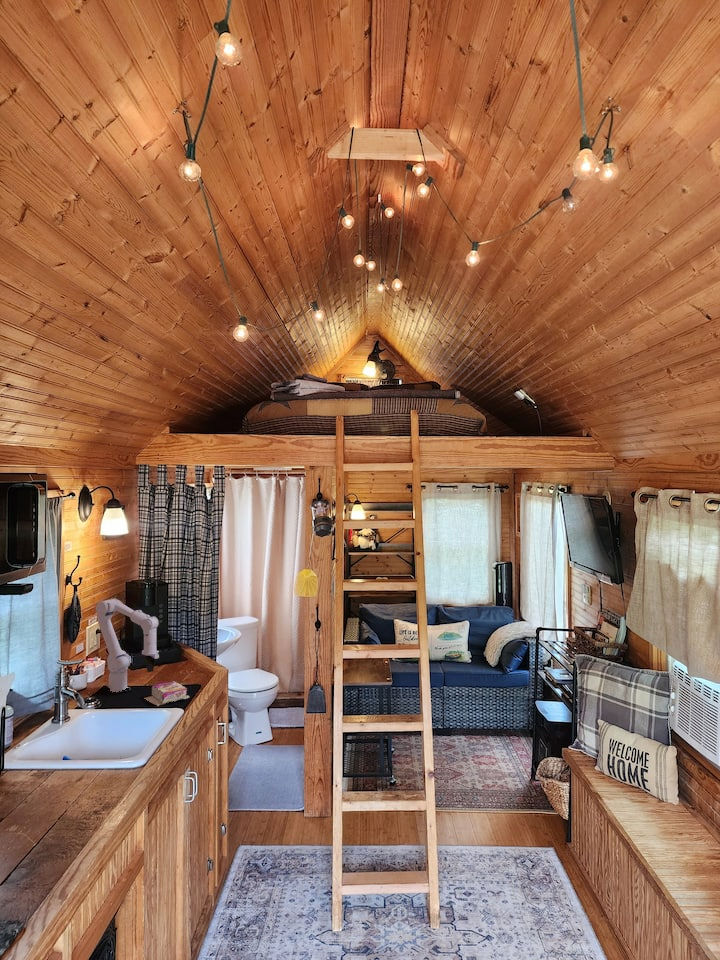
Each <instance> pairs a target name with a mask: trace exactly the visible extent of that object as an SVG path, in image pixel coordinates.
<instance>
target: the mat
mask: <svg viewBox="0 0 720 960" xmlns="http://www.w3.org/2000/svg"><path fill="white" fill-rule="evenodd" d="M189 698H190V695H187V699H189ZM144 699H146V700H147V702H148V701H149V703H151V704H153V705H155V706H156V707H159V706H162V705H167V704H170V703H169V702H168V703H167V704H166V703H161V702H160V701H159V700H157V699H156V698H155V697H154V696H152V695H151V696H147V697H144V698H143V700H144ZM146 700H145V701H146Z"/></svg>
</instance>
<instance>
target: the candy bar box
mask: <svg viewBox="0 0 720 960" xmlns="http://www.w3.org/2000/svg"><path fill="white" fill-rule="evenodd" d="M187 692H188V688H187V687H185V686H184V685H182V684H181V683H180V682H177V681H176V680H173V681H169V682H163V683H162V682H161V683H158V684H152V685H151V696H154V697H155V698H156V699H157V700H159V701H160V702H161V703H167V704H169V703H168V702H171V703H174V702H178V701H183V700H186V699H187V700H188V698H187V696H188V695H187V694H188V693H187ZM173 701H174V702H173Z"/></svg>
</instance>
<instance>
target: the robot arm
mask: <svg viewBox="0 0 720 960" xmlns="http://www.w3.org/2000/svg"><path fill="white" fill-rule="evenodd" d="M95 612H96V615H97V616H96V618H97V624H98V626H99V628H100V632H101V634H102V638H103V640H104V643H105V645H106V649H107V651H108V656H107V659H106V662H107V669H108V671H109V675H108V688H110V691H109V692H111V691H112V692H111V693H113V692H116V693H120V692H123V691H122V690H125V689H126V688H130V687H128V667H130V665H131V659H130V657H129V655H127V652H126V651H125V650H122V648H121V646H120V642H119V640H118V637H117V635H116V632H115V630H114V626H113V624H112V623H113V622H112V621H111V619H112V618H113V616H114V614H116V612H117V613H120V614H122V615H125V616H127V617H129V618H130V620H131V622H133V623H134V624H136V625H138V626H140V628H141V629H142V632H143V650H141V655H142V656H143V655H144V656H143V657H142V659H143V661H144V663H145V666H146V670H147V673H151V672H152V673H153V672H154V668H155V664H156V662H157V660H158V659H160V655H159V652H160V651H159V650H157V645H158V644H157V628H158V627H159V625H160V622H159V619H158V617H156V615H155V616H150V615H149V614H146V613H145V612H143V611H142V610H141V609H137V610H134V609H133V608H130V607H128V606H127V605H125V604H124V603H123V602H122V601H121V600H120V599H118V598H115V597H113V598H111V599H106V600H100V601H99V602H98V603H97V604H96V606H95ZM119 691H120V692H119ZM125 691H126V690H125Z"/></svg>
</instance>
